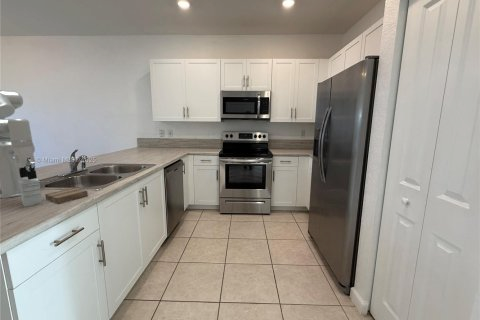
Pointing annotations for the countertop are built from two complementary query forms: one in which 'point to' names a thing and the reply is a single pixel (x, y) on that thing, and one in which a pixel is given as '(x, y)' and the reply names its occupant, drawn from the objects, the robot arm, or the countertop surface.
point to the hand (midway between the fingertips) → (28, 178)
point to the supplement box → (30, 192)
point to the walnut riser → (66, 195)
